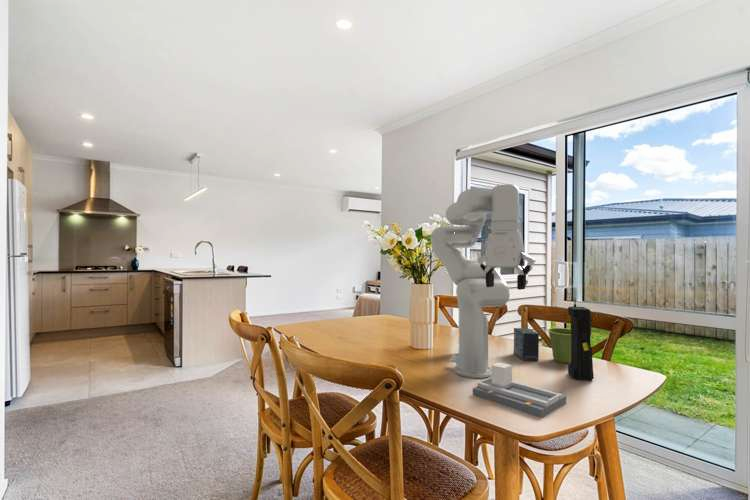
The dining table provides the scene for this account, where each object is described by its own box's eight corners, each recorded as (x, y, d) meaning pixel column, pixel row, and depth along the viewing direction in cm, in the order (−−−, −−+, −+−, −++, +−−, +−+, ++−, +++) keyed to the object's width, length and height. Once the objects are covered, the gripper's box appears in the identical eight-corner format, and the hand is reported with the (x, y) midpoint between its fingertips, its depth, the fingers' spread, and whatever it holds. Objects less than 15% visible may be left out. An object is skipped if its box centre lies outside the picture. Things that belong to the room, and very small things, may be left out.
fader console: (472, 395, 111) (472, 384, 111) (499, 384, 120) (499, 374, 120) (541, 417, 96) (541, 404, 96) (566, 403, 105) (566, 391, 105)
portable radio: (595, 382, 123) (595, 302, 123) (574, 381, 124) (574, 301, 124) (587, 374, 130) (587, 299, 130) (567, 373, 131) (567, 299, 132)
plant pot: (544, 362, 145) (544, 331, 145) (549, 355, 155) (549, 326, 155) (581, 367, 138) (581, 335, 138) (583, 359, 149) (583, 330, 149)
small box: (540, 361, 146) (540, 333, 146) (522, 361, 146) (522, 333, 146) (529, 353, 157) (529, 327, 157) (512, 353, 157) (512, 327, 157)
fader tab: (490, 386, 112) (490, 365, 112) (500, 382, 115) (500, 361, 115) (502, 390, 109) (502, 368, 109) (513, 385, 112) (513, 364, 112)
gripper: (471, 229, 116) (471, 286, 116) (528, 226, 104) (528, 291, 103) (485, 230, 121) (485, 285, 121) (540, 227, 109) (540, 289, 108)
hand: (505, 288), depth 112 cm, fingers open, 9 cm apart
